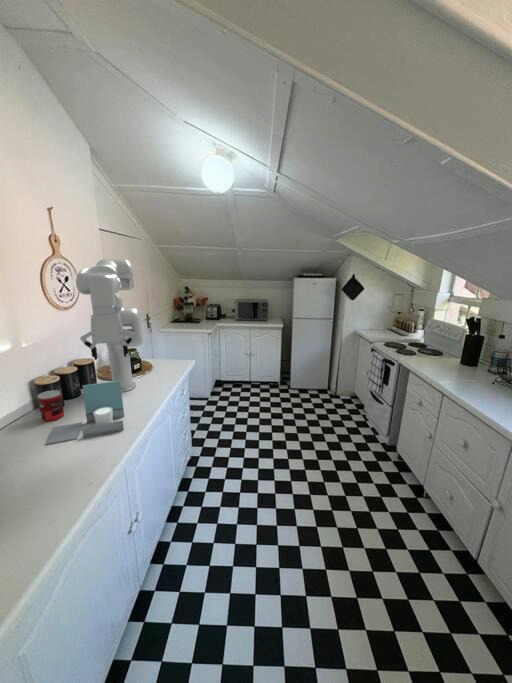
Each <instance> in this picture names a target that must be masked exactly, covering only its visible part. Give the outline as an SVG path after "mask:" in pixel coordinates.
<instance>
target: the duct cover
mask: <svg viewBox="0 0 512 683" xmlns="http://www.w3.org/2000/svg"><path fill="white" fill-rule="evenodd" d="M82 393H83V394H82V395H83V400H84V408H85V415H86V414H90V413H94V411H95V410H97V409H99V408H103V407H111V408H112V410H114V409H120V408H123V409H124V402H123V392H122V391H121V382H120V381H107V382H100V383H99V382H98V383H97V382H96V383H91V384H85V385H82Z"/></svg>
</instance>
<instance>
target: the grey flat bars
mask: <svg viewBox="0 0 512 683" xmlns="http://www.w3.org/2000/svg"><path fill="white" fill-rule="evenodd" d="M112 412H113V420H114V419H120V418H124V417H125V411H124V407H123V408H120V409H114V410H112ZM85 418H86V419H85V420H86V423H87V424H91V423H96V421H95V418H94V414H93V413H90V414H86V413H85ZM124 430H125V429H124V420H118V421H117V420H116V421H113V422H111V423H106V424H100V425H96V424H95V425H91V426H84V427H81V431H82V438H84V439H86V438H90V437H95V436H100V435H106V434H110V433H111V434H112V433H116V432H121V431H124Z"/></svg>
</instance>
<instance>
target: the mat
mask: <svg viewBox="0 0 512 683" xmlns="http://www.w3.org/2000/svg"><path fill="white" fill-rule="evenodd" d="M82 424H83V422H82V421H81V422H80V421H79V422H75V423H74V422H73V423H70V424H69V423H68V424H64V425H63V424H62V425H58V426H53V427H52V429H51V431H50V434H49V435H48V438H47V440H46V441H45V446H48V445H49V446H50V445H54V444H60V443H65V442H69V441H74V440H75V441H76V440H78V438H79V436H80V431H81V430H82Z"/></svg>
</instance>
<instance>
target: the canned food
mask: <svg viewBox="0 0 512 683" xmlns="http://www.w3.org/2000/svg"><path fill="white" fill-rule="evenodd" d="M61 394H62V393H61V391H60V390H57V389H55V390H53V389H52V390H47V391H43V392H40V393H39V394H37V402H38V407H39V410H40V415H41V420H42V421H44V422H55V421H58V420H60V419H62V418H63V417H64V416H65V411H64V410H65V409H64V405H63V399H62V395H61Z"/></svg>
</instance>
